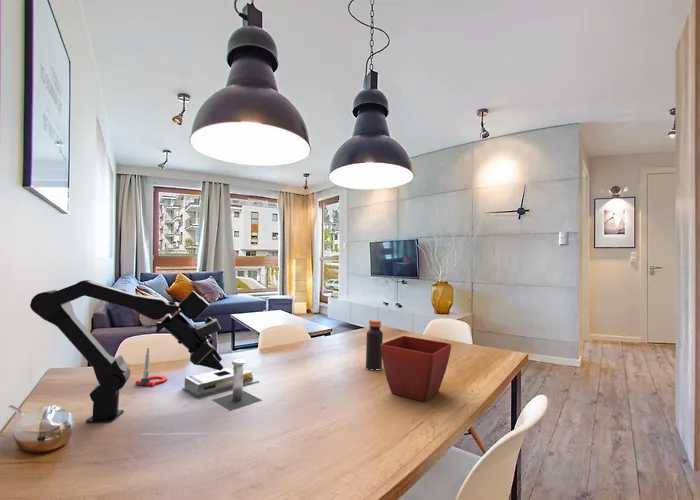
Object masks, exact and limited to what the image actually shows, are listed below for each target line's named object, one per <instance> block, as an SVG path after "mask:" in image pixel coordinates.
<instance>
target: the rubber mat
mask: <svg viewBox="0 0 700 500" xmlns="http://www.w3.org/2000/svg"><path fill="white" fill-rule="evenodd" d="M212 401H213V402H214V403H216V404H218V405H220V406H222V407H223V408H224V409H227V410H228V411H229V412H231V411H234V410H237V409H240V408H243V407H246V406H250V405H252V404H255V403H259V402H262V401H263V399H261V398H259V397H257V396H255V395H253V394H251V393H249V392H247V391H244V390H243V393H242V401H239V402H233V401H232V393H231V394H227V395H224V396H220V397H218V398H212Z"/></svg>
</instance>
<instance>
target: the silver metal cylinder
mask: <svg viewBox="0 0 700 500" xmlns="http://www.w3.org/2000/svg"><path fill="white" fill-rule="evenodd" d="M231 364H232V365H233V369H232V370H233V390H232V393H231V394H232V401H233V402H239V401H242V393H243V391H244V390H243V388H244V386H243V371H244V365H245V364H246V360H245V359H240V358H239V359H234V360H232V361H231Z"/></svg>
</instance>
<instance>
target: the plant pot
mask: <svg viewBox="0 0 700 500" xmlns="http://www.w3.org/2000/svg"><path fill="white" fill-rule="evenodd" d="M451 350H452V343H449V342H444V341H443V342H442V341H438V340H430V339H424V338H421V337H420V338H419V337H414V336H407V335H403V336H398V337H396V338H393V339H391V340H387V341H385V342H382V344H381V353H382V366H383V368H384V369H383V370H384V374H385V377H386V381H387V384H388V387H389V390H390V392H391V393H392V394H395V395H398V396H401V397H405V398H408V399H412V400H416V401H419V402H427V401H429V400H430V399H431V398H432V397H433V396H435V395H436V394H437V393H439V391H440V388H441V387H442V386H441V385H442V382H443V380H444V377H445V374H446V372H447V367H448V363H449V359H450V357H451V356H450V355H451Z"/></svg>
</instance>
